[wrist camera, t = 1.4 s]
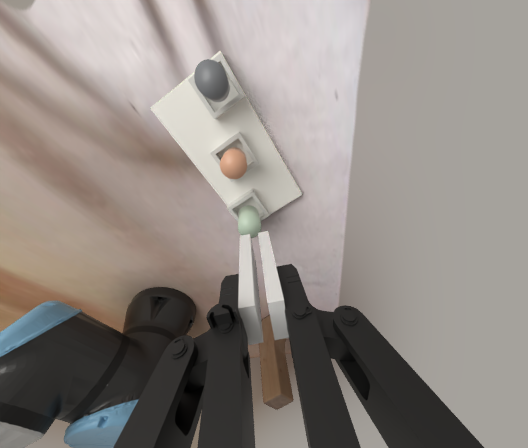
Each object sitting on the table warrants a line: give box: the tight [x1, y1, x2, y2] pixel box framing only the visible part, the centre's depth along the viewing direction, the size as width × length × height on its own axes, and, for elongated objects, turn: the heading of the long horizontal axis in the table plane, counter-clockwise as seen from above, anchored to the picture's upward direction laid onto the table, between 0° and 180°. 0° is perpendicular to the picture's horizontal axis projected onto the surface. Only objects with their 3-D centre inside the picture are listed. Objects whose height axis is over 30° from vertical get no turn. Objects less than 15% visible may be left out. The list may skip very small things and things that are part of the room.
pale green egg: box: [238, 205, 261, 238], centre depth 34 cm, size 4×4×5 cm
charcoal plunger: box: [194, 59, 230, 102], centre depth 25 cm, size 4×4×5 cm
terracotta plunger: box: [220, 147, 247, 179], centre depth 29 cm, size 4×4×5 cm
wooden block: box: [259, 315, 293, 409], centre depth 47 cm, size 9×4×18 cm, turn 130°
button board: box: [150, 51, 302, 222], centre depth 34 cm, size 13×25×3 cm, turn 32°
